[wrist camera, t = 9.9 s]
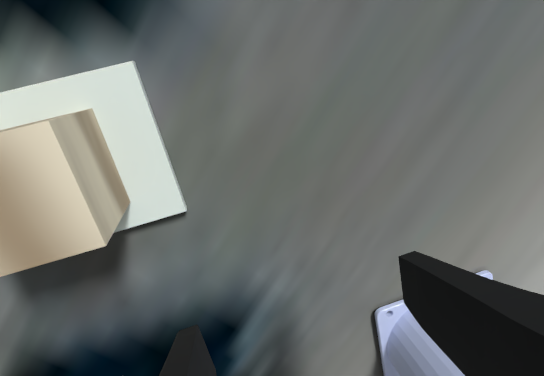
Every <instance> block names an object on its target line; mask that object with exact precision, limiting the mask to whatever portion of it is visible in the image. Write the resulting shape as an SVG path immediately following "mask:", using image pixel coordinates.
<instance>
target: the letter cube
mask: <svg viewBox="0 0 544 376" xmlns="http://www.w3.org/2000/svg"><path fill="white" fill-rule="evenodd" d="M129 203H130V199H129V197H128V195H127V192H126V190H125V187H124V185H123V182H122V180H121V177H120V175H119V173H118V170H117V168H116V165H115V163H114V160H113V158H112V155H111V153H110V151H109V148H108V146H107V143H106V141H105V138H104V136H103V133H102V131H101V128H100V126H99V124H98V121H97V119H96V116H95V114H94V111H93V109H92V108H90V109H86V110H82V111H78V112H74V113H70V114H66V115H61V116H57V117H53V118H49V119H45V120H41V121H36V122H32V123H28V124H24V125H20V126H16V127H12V128H7V129H3V130H0V277H1V276H5V275H8V274H12V273H15V272H18V271H22V270H25V269H29V268H32V267H36V266H39V265H43V264H46V263H49V262H53V261H56V260H60V259H63V258H67V257H70V256H74V255H77V254H80V253H84V252H87V251H91V250H94V249H98V248H101V247H105V246H106V245H107V244H108V242H109V240H110V238H111V236H112V234H113V233H114V231H115V229H116V227H117V225H118V224H119V222H120V220H121V218H122V216H123V214H124V213H125V211H126V209H127V207H128V205H129Z"/></svg>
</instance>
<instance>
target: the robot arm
mask: <svg viewBox="0 0 544 376" xmlns="http://www.w3.org/2000/svg"><path fill="white" fill-rule="evenodd" d="M399 265H400V273H401V282H402V291H403V300H400V301H397V302H394V303H391V304H389V305H386V306H383V307H380V308H378V309H377V310H376V311H375V321H376V328H377V334H378V340H379V347H380V353H381V360H382V366H383V373H384V376H544V295H541V294H538V293H534V292H530V291H526V290H523V289H520V288H516V287H513V286H510V285H507V284H504V283H501V282H497V281H494V280H493V276H492V274H491V273H490V272H489V271H486V270H485V271H481V272H478V273H476V274H474V273H472V272H469V271H466V270H463V269H461V268H458V267H456V266H453V265H450V264H448V263H445V262H443V261H440V260H437V259H435V258H432V257H430V256H427V255H424V254H421V253H419V252H416V251H413V252H410V253H407V254H404V255H401V256H399ZM388 311H389V312H388ZM387 312H388V313H387ZM159 376H216V369H215V367H214V364H213V362H212V359H211V357H210V355H209V352H208V350H207V347H206V345H205V342H204V340H203V337H202V335H201V332H200V330H199V327H198V325H195V326H192V327H189V328H186V329H183V330H180V331H179V332H178V334H177V335H176V338H175V340H174V343H173V345H172V347H171V350H170V352H169V354H168V357H167V359H166V361H165V363H164V366H163V368H162V370H161V372H160V374H159Z"/></svg>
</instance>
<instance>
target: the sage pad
mask: <svg viewBox="0 0 544 376" xmlns="http://www.w3.org/2000/svg"><path fill="white" fill-rule="evenodd" d="M90 108H92V109H93V111H94V114H95V116H96V119H97V121H98V124H99V126H100V128H101V131H102V133H103V136H104V138H105V141H106V143H107V146H108V148H109V151H110V153H111V155H112V158H113V160H114V163H115V165H116V168H117V170H118V173H119V175H120V177H121V180H122V182H123V185H124V187H125V190H126V192H127V195H128V197H129V199H130V203H129V205H128V207H127V209H126V211H125V213H124V214H123V216H122V218H121V220H120V222H119V224H118V225H117V227H116V229H115V231H114V233H115V232H118V231H121V230H125V229H128V228H131V227H135V226H138V225H142V224H145V223H148V222H152V221H155V220H158V219H162V218H165V217H168V216H172V215H175V214H179V213H182V212H185V211H187V206H186V203H185V201H184V198H183V195H182V192H181V190H180V187H179V184H178V181H177V178H176V176H175V173H174V170H173V167H172V164H171V162H170V159H169V156H168V153H167V151H166V148H165V145H164V142H163V139H162V137H161V134H160V131H159V128H158V125H157V123H156V120H155V117H154V114H153V111H152V109H151V106H150V103H149V100H148V98H147V95H146V92H145V89H144V86H143V84H142V81H141V78H140V75H139V72H138V70H137V67H136V64H135V61H130V62H126V63H122V64H117V65H113V66H109V67H105V68H101V69H97V70H92V71H88V72H84V73H80V74H76V75H72V76H68V77H63V78H59V79H55V80H51V81H47V82H43V83H38V84H34V85H30V86H26V87H22V88H18V89H13V90H9V91H5V92H1V93H0V130H3V129H7V128H12V127H16V126H20V125H24V124H28V123H32V122H36V121H41V120H45V119H49V118H53V117H57V116H61V115H66V114H70V113H74V112H78V111H82V110H86V109H90Z"/></svg>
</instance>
